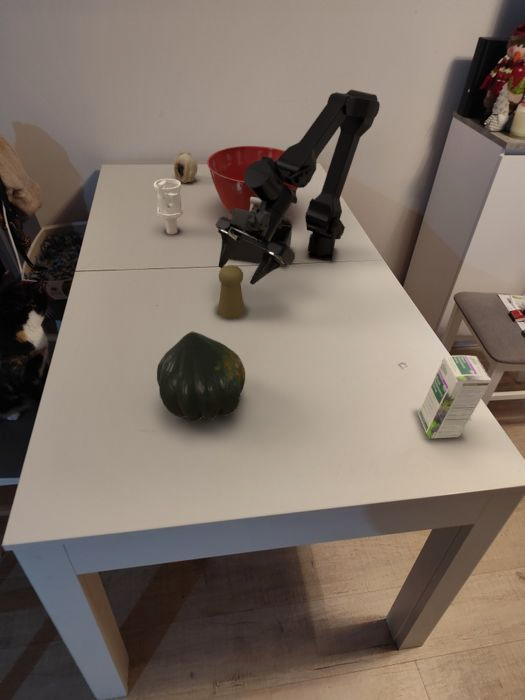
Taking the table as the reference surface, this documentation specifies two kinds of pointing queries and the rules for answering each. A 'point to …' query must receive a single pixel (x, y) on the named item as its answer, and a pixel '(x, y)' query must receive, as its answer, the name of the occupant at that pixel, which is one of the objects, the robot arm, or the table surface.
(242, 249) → the open black tray
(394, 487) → the table surface
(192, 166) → the beige rounded hollow piece
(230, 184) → the mixing bowl
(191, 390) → the squash
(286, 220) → the lid
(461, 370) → the syrup box
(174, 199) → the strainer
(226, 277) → the peg doll
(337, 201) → the robot arm
